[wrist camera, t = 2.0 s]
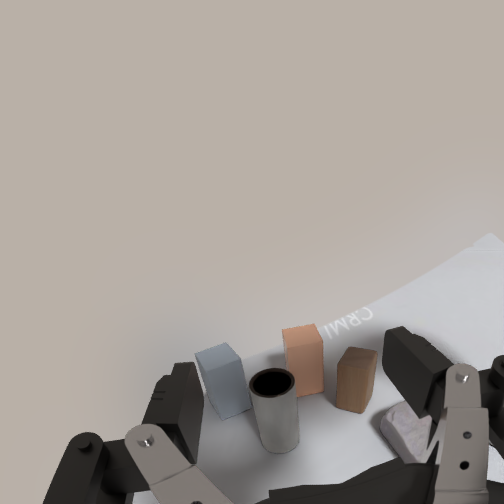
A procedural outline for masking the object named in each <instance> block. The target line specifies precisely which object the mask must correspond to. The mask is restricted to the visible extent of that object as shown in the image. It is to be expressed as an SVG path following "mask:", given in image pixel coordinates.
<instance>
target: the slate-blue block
mask: <svg viewBox="0 0 504 504" xmlns="http://www.w3.org/2000/svg"><path fill="white" fill-rule="evenodd" d="M195 357H196V360H197V363H198V366H199V369H200V372H201V375H202V378H203V382H204V385H205V388H206V391H207V393H208V396H209V399H210V402H211V404H212V405H213V407H214V408H215V410H216V412H217V413H218V415H219V416H220V418H221V419H222V420H224V419H227V418H229V417H232V416H234V415H236V414H239V413H241V412H243V411H246V410H248V409H250V408H252V406H251V402H250V397H249V393H248V389H247V384H246V380H245V375H244V371H243V366H242V362H241V358H240V357H239V356H238V355H237V354H236V353H235V352H234V350H233V349H232V348H231V347H230V346H229V345H228V344H227V343H223V344H220V345H218V346H215V347H212V348H209V349H207V350H204V351H201V352H198V353H195Z"/></svg>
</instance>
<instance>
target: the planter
mask: <svg viewBox="0 0 504 504" xmlns="http://www.w3.org/2000/svg"><path fill="white" fill-rule="evenodd" d="M249 389H250V394H251V398H252V403H253V407H254V411H255V416H256V420H257V424H258V428H259V433H260V437H261V441H262V444H263V446H264V448H265V449H266V450H268V451H270V452H272V453H278V454H280V453H286V452H289V451H291V450H293V449H294V448H295V447H296V446H297V445H298V443H299V438H300V434H299V420H298V407H297V395H296V383H295V378H294V376H293V374H292V373H290V372H289V371H287V370H285V369H280V368H270V369H265V370H262V371H260V372H258V373H257V374H255V375H254V376H253V377H252V378H251V380H250V382H249Z"/></svg>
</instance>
